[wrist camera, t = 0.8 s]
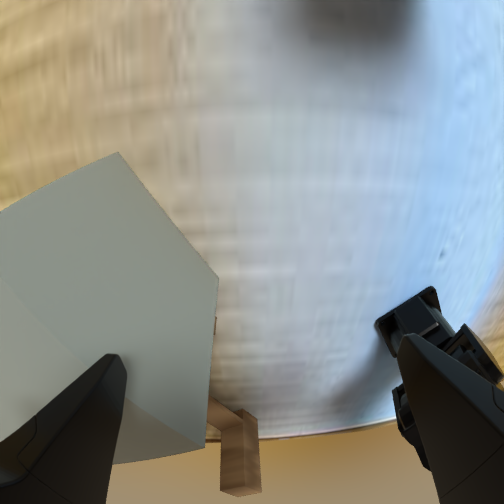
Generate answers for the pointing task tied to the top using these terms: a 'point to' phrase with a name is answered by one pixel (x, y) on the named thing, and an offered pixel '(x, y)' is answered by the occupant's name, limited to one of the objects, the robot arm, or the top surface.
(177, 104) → the top surface
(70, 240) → the cabinet
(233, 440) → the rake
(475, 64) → the top surface
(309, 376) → the top surface
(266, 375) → the top surface
